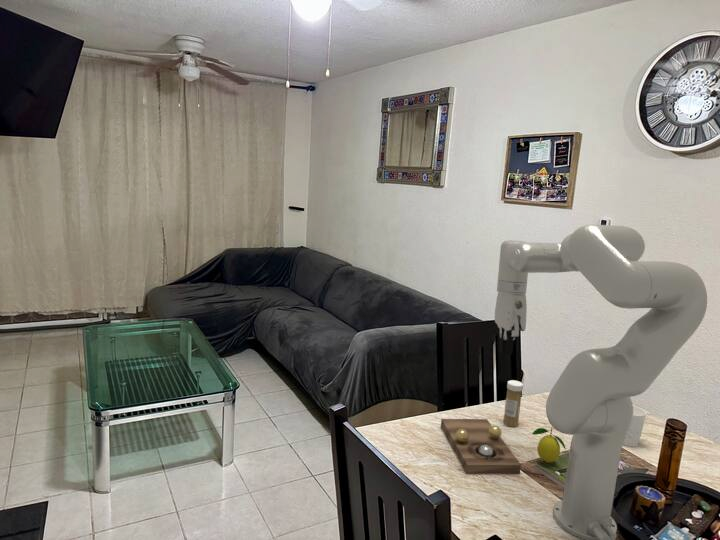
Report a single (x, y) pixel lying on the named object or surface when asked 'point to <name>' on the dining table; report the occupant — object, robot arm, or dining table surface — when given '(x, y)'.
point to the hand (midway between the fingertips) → (505, 353)
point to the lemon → (548, 446)
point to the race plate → (469, 450)
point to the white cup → (635, 427)
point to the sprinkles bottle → (512, 403)
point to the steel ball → (485, 451)
